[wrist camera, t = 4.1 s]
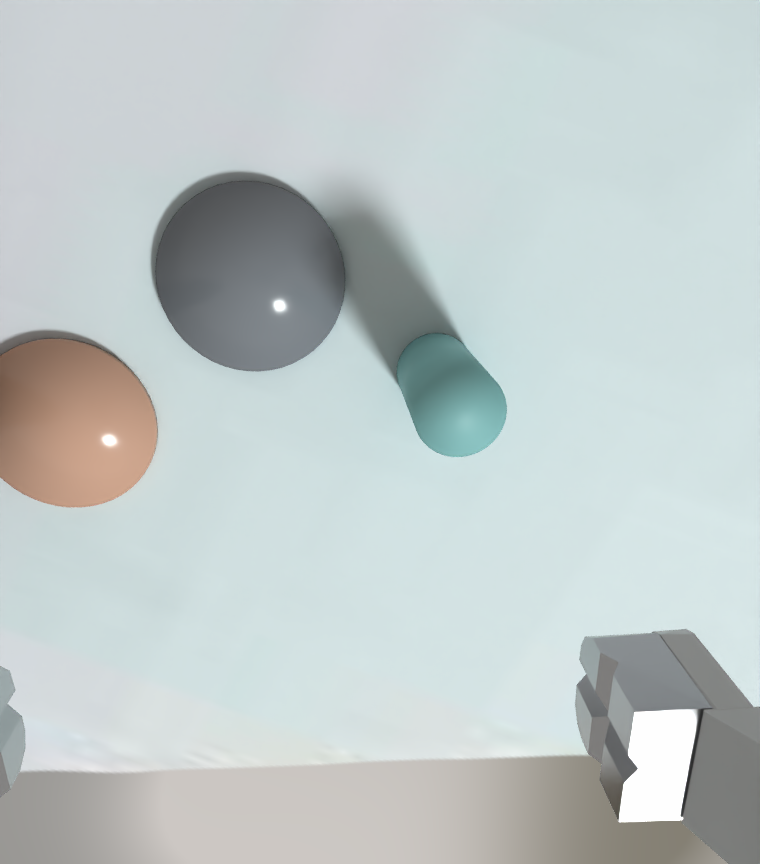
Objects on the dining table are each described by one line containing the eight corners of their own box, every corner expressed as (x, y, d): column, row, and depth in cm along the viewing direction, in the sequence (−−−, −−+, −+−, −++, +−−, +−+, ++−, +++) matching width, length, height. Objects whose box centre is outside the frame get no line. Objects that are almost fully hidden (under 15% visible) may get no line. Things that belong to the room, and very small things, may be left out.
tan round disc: (144, 334, 34) (142, 336, 33) (168, 499, 37) (166, 502, 36) (-44, 341, 33) (-49, 343, 33) (-4, 508, 36) (-8, 512, 36)
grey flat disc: (340, 178, 32) (340, 178, 31) (348, 365, 35) (348, 367, 34) (145, 183, 31) (142, 183, 31) (170, 373, 34) (168, 375, 34)
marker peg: (473, 331, 35) (508, 365, 28) (472, 405, 36) (504, 454, 30) (396, 334, 34) (413, 369, 28) (397, 409, 36) (413, 459, 29)
